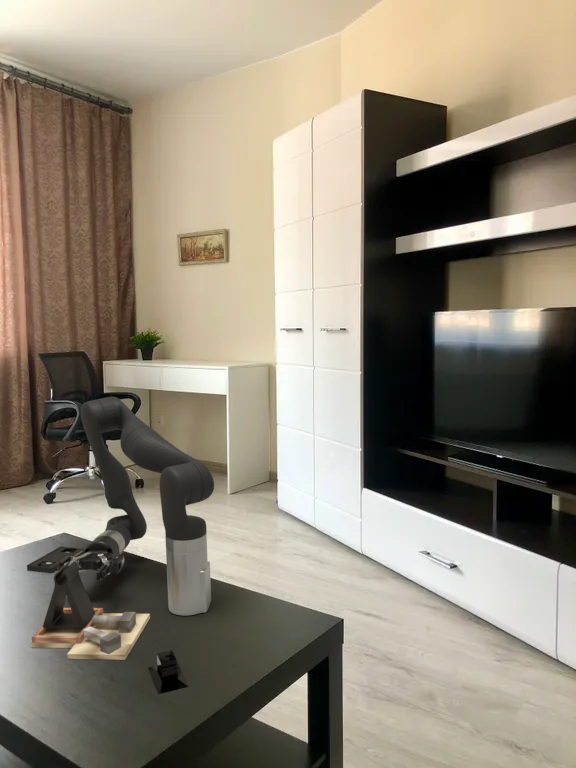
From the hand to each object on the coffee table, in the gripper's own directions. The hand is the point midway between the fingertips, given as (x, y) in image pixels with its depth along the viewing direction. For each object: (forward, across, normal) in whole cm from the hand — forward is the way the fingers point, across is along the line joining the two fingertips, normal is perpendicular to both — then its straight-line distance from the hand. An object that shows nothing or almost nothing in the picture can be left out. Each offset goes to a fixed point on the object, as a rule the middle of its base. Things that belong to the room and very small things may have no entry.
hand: (79, 576), depth 137 cm
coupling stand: (+9, +5, +9) cm, 14 cm away
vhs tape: (-32, -20, +10) cm, 39 cm away
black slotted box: (+23, +25, +10) cm, 35 cm away
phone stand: (+6, 0, +7) cm, 10 cm away
